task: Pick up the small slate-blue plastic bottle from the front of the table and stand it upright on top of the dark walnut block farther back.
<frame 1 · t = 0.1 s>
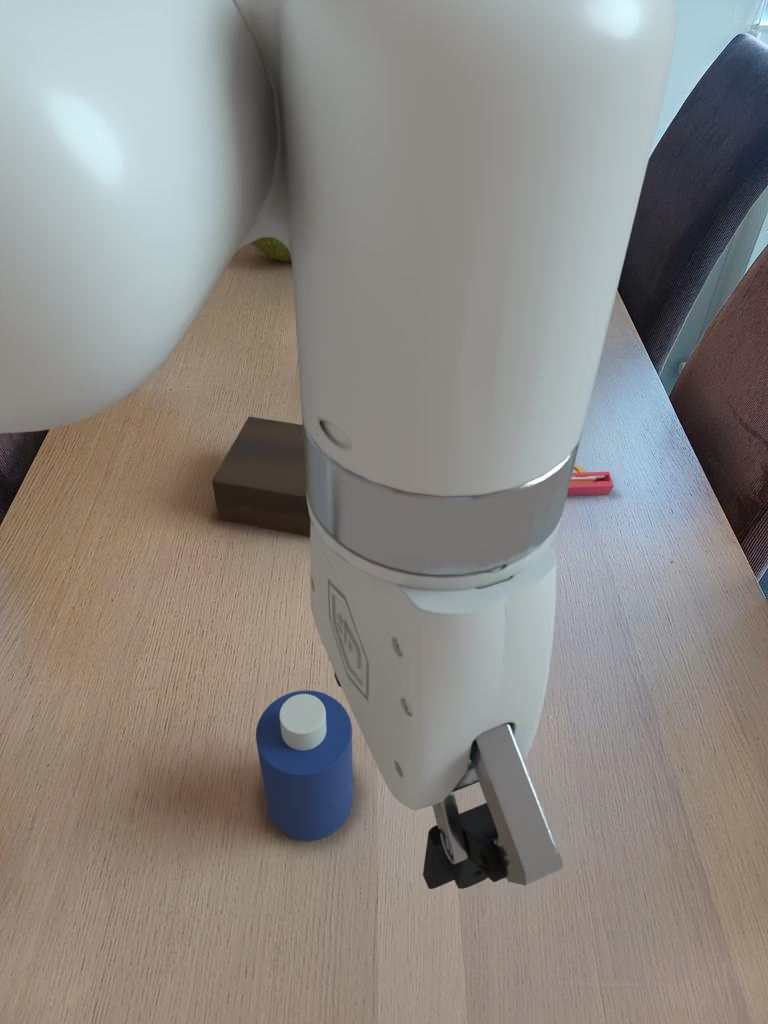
hand: (410, 762, 35), 22 cm above the table, tool pointing down, fingers open, 9 cm apart
bottle: (310, 799, 56), on the table
fruit: (299, 254, 116), on the table
pink long slotted bar: (489, 498, 80), on the table
cup: (487, 409, 90), on the table
toy car: (537, 299, 108), on the table
block: (284, 494, 79), on the table
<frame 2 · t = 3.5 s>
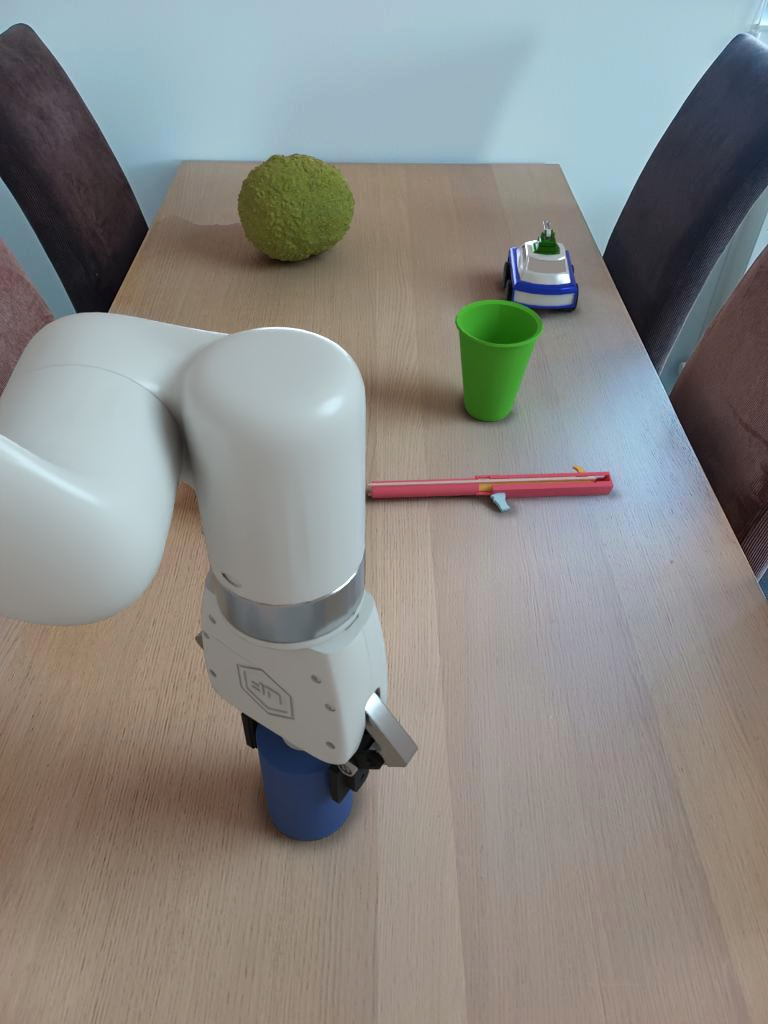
hand: (306, 755, 52), 6 cm above the table, tool pointing down, fingers closed on bottle, 6 cm apart
bottle: (310, 799, 56), on the table, touching gripper
everything else where it was.
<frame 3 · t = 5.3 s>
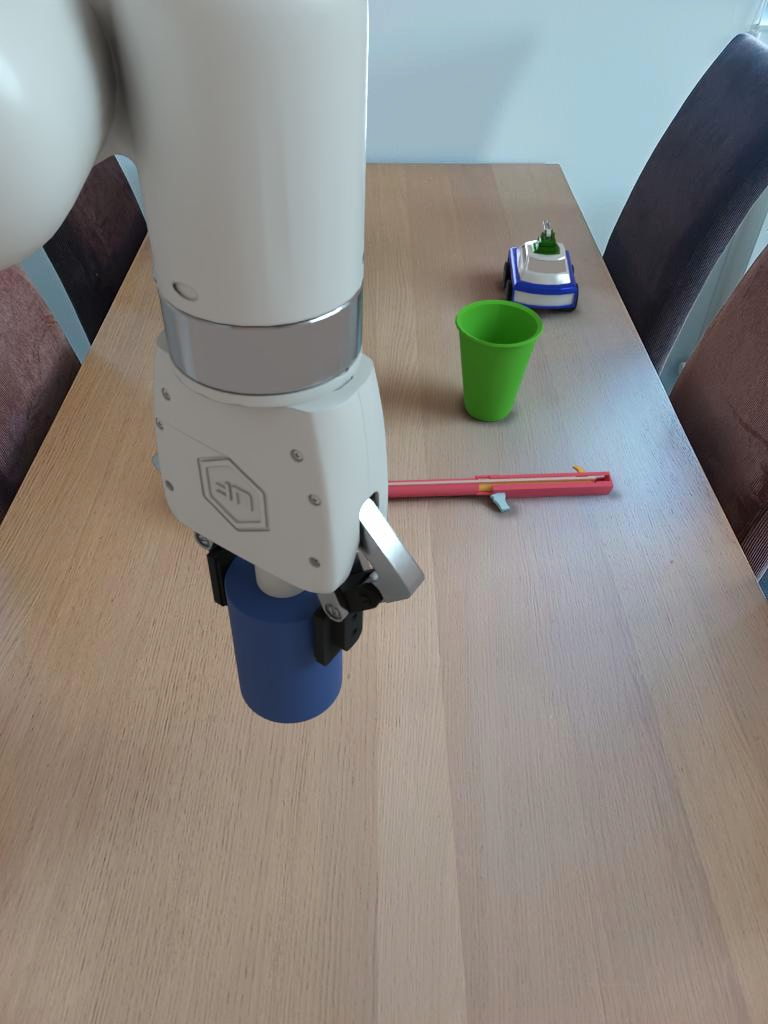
hand: (286, 614, 43), 20 cm above the table, tool pointing down, fingers closed on bottle, 6 cm apart
bottle: (291, 679, 47), point 14 cm above the table, touching gripper
everything else where it was.
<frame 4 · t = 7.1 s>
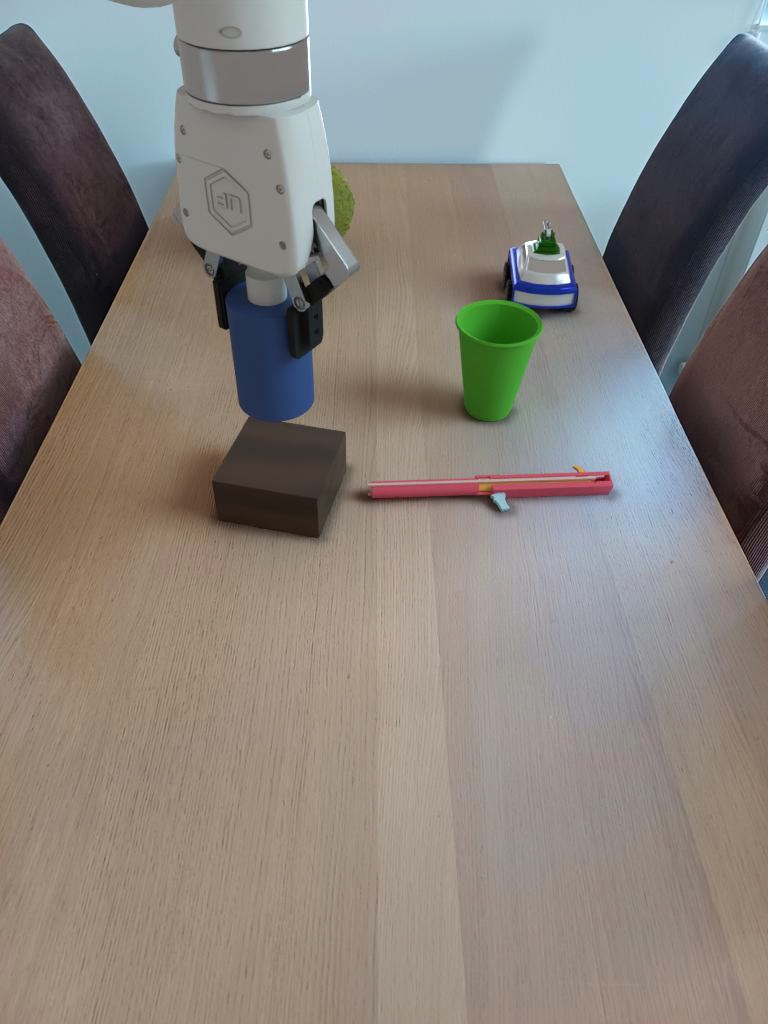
hand: (270, 333, 60), 22 cm above the table, tool pointing down, fingers closed on bottle, 6 cm apart
bottle: (276, 399, 64), point 16 cm above the table, touching gripper
everything else where it was.
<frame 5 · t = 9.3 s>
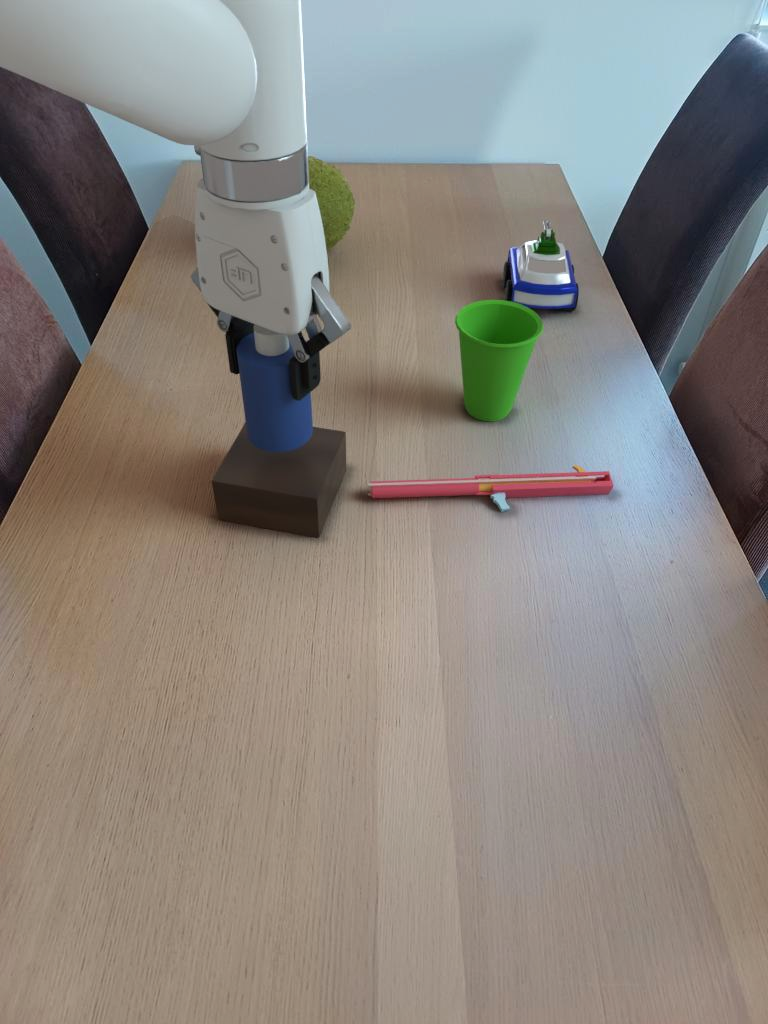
hand: (274, 377, 70), 14 cm above the table, tool pointing down, fingers closed on bottle, 6 cm apart
bottle: (280, 431, 74), point 8 cm above the table, touching gripper
everything else where it was.
when the fingers open (11 cm above the table, at t = 10.6 s): bottle stays where it is, resting on block.
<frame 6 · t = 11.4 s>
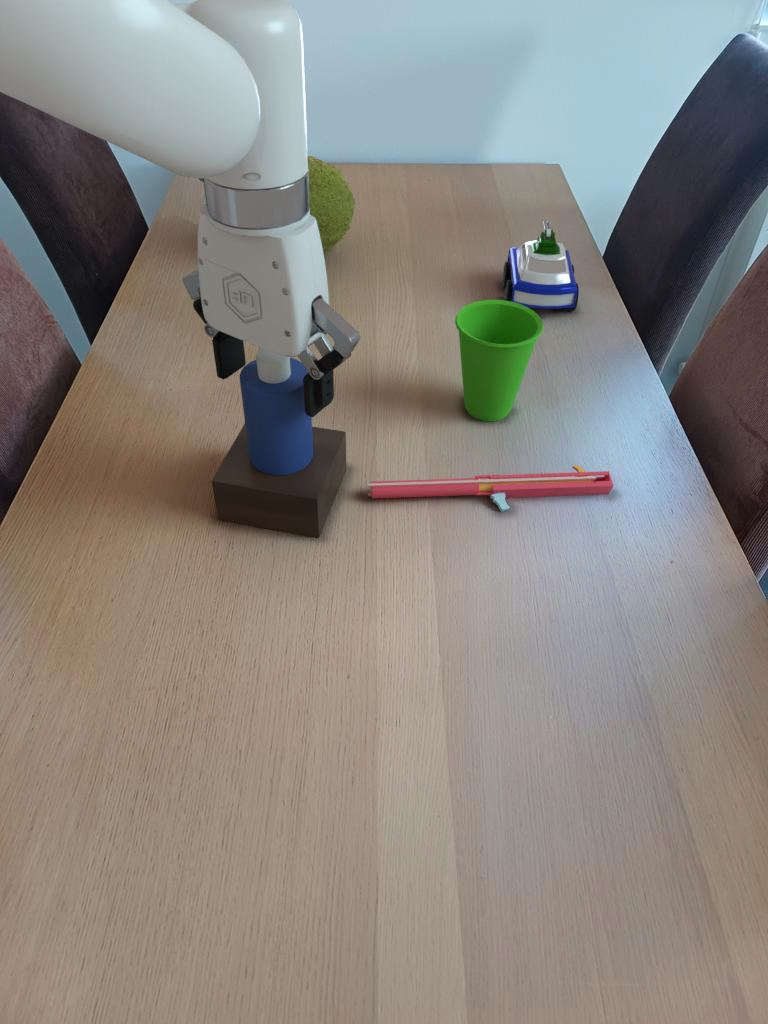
hand: (274, 389, 70), 12 cm above the table, tool pointing down, fingers open, 9 cm apart
bottle: (281, 454, 76), point 5 cm above the table, touching block
everything else where it was.
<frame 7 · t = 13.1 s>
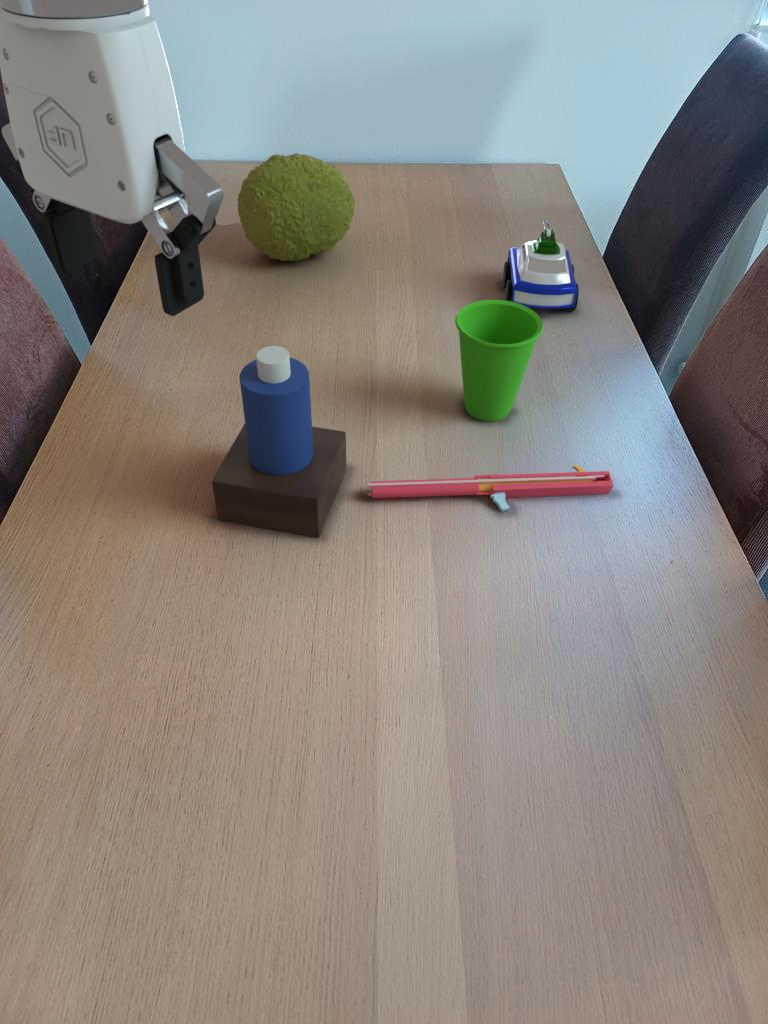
hand: (130, 285, 54), 27 cm above the table, tool pointing down, fingers open, 9 cm apart
nothing on the table moved.
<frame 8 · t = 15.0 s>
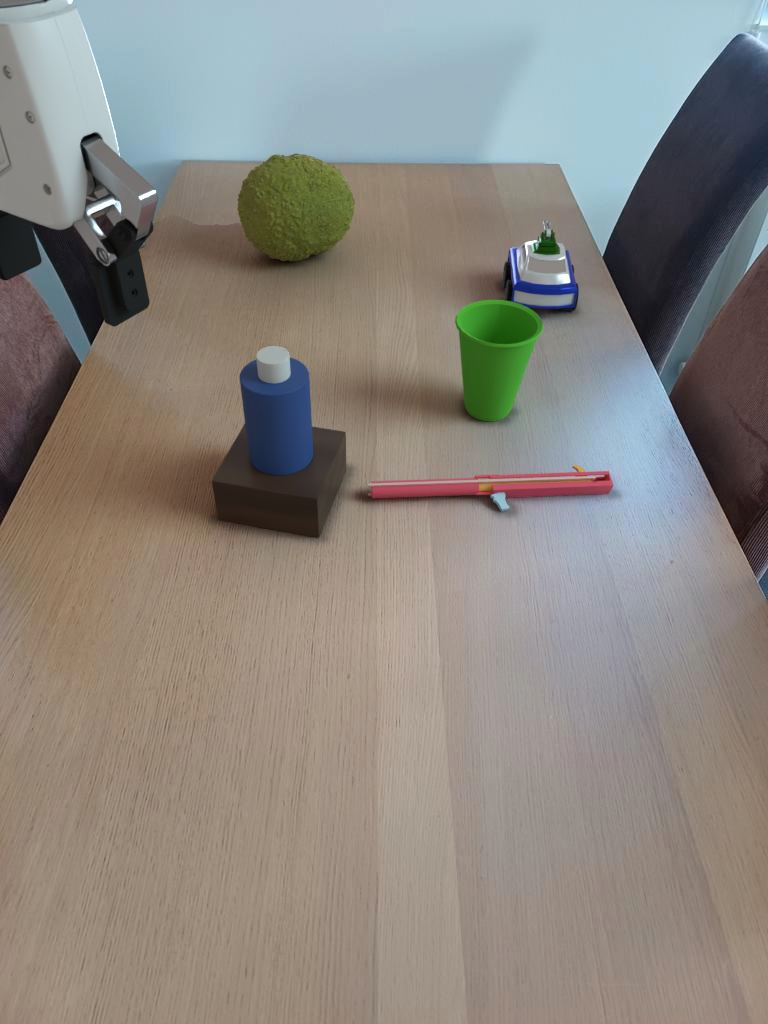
hand: (72, 292, 51), 28 cm above the table, tool pointing down, fingers open, 9 cm apart
nothing on the table moved.
at the end: bottle inside the target area on the block (0.1 cm from its centre), point 5.0 cm above the block's base; bottle tilted 0° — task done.
